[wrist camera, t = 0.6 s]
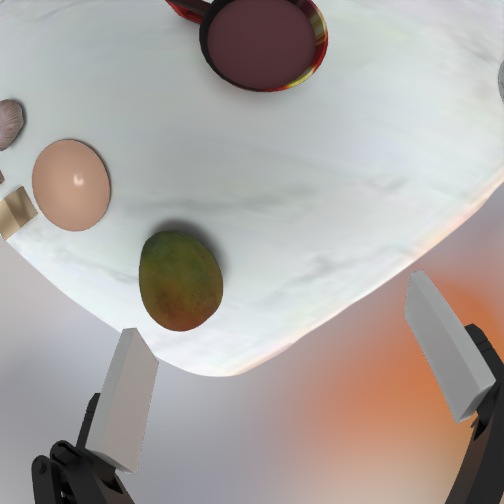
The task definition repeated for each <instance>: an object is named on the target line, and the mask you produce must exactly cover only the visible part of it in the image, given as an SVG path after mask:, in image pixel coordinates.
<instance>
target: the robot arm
mask: <svg viewBox="0 0 504 504" xmlns="http://www.w3.org/2000/svg"><path fill="white" fill-rule="evenodd" d="M404 317H405V319H406V321H407V323H408V324H409V326H410V328H411V330H412V332H413V334H414V335H415V338H416V339H417V341H418V343H419V345H420V347H421V349H422V351H423V353H424V355H425V357H426V359H427V361H428V363H429V365H430V367H431V369H432V371H433V373H434V375H435V377H436V380H437V382H438V384H439V386H440V388H441V390H442V392H443V395H444V397H445V399H446V402H447V404H448V406H449V408H450V411H451V413H452V415H453V418H454V420H455V422H456V424H457V423H459V422H461V421H463V420H465V419H467V418H469V417H471V416H472V415H473V413H474V412H475V411H477V413H478V417H477V418H476V419H475V421H474V422H473V423H472V425H471V428H473V427H474V425H475V427H474V430H473V433H472V437H471V440H470V443H469V446H468V449H467V452H466V454H465V457H464V460H463V463H462V465H461V468H460V471H459V473H458V475H457V478H456V480H455V482H454V485H453V487H452V489H451V491H450V494H449V496H448V498H447V500H446V502H445V504H499V503H500V500H501V498H502V495H503V492H504V364H503V362H502V361H501V359H500V358H499V356H498V355H497V353H496V351H495V350H494V349H493V348H492V345H491V343H490V342H489V341H488V339H487V337H486V336H485V334H484V333H483V331H482V330H481V329H480V328H478V327H477V326H476V325H474V324H470V325H467V326H465V327H463V325H462V324H461V322H460V321H459V319H458V318H457V316H456V315H455V313H454V312H453V310H452V309H451V307H450V306H449V305H448V303H447V302H446V300H445V299H444V298H443V296H442V295H441V294H440V292H439V291H438V289H437V288H436V287H435V285H434V284H433V283H432V281H431V280H430V279H429V278H428V276H427V275H426V273H425V272H424V271H423V270H420V271H417V272H413V273H410V274H409V280H408V289H407V297H406V305H405V312H404ZM158 364H159V362H158V360H157V359H156V358H155V356H154V355H153V353H152V352H151V350H150V349H149V347H148V346H147V344H146V342H145V341H144V339H143V338H142V336H141V335H140V333H139V332H138V330H137V328H128V329H123V331H122V334H121V337H120V339H119V342H118V345H117V347H116V350H115V353H114V356H113V358H112V362H111V364H110V367H109V370H108V373H107V376H106V379H105V382H104V385H103V388H102V391H101V393H95V394H94V396H93V397H92V398H91V400H90V401H89V404H88V407H87V410H86V412H87V413H86V414H85V417H84V421H83V423H82V427H81V430H80V434H79V437H78V440H77V444H76V447H74V446H73V445H71V444H70V443H69V442H67V441H64V440H61V441H58V442H56V443H55V444H54V445H53V446H52V448H51V451H50V459H49V458H47V457H46V456H44V455H39V456H38V457H36V458H35V459H34V461H33V463H32V469H31V470H32V482H33V491H34V499H35V504H135V503H134V502H133V500H132V499H131V497H130V495H129V494H128V492H127V491H126V489H125V487H124V486H123V484H122V482H121V481H120V479H119V477H118V476H117V475H116V473H115V469H118V470H119V471H121V472H123V473H130V474H138V468H139V461H140V456H141V450H142V444H143V438H144V433H145V427H146V422H147V416H148V411H149V406H150V402H151V397H152V392H153V387H154V382H155V377H156V373H157V369H158ZM61 492H62V494H63V497H62V495H61Z"/></svg>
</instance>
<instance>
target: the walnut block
mask: <svg viewBox="0 0 504 504" xmlns="http://www.w3.org/2000/svg"><path fill="white" fill-rule="evenodd" d="M4 180H5V179H4V177H3V175H2V173H1V171H0V184H1V183H2V182H3V181H4Z"/></svg>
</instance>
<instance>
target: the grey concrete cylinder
mask: <svg viewBox="0 0 504 504" xmlns="http://www.w3.org/2000/svg"><path fill="white" fill-rule="evenodd" d="M498 85H499V91H500V95H501V98H502V101H503V103H504V62H503V63H502V65H501V67H500V69H499V75H498Z"/></svg>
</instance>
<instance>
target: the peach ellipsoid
mask: <svg viewBox="0 0 504 504" xmlns="http://www.w3.org/2000/svg"><path fill="white" fill-rule="evenodd" d="M32 188H33V193H34V197H35V200H36V202H37V204H38V206H39V208H40V210H41V211H42V213H43V214H44V215H45V217H46V218H47V219H48V220H49V221H51V222H52V223H53V224H55V225H56V226H58V227H60V228H62V229H65V230H68V231H83V230H86V229H88V228H91V227H92V226H94V225H95V224H96V223H97V222H98V221H99V220H100V219H101V218H102V216H103V215H104V213H105V211H106V209H107V206H108V202H109V197H110V185H109V179H108V175H107V172H106V169H105V167H104V165H103V163H102V162H101V160H100V158H99V157H98V156H97V155H96V153H95V152H94V151H93V150H92V149H90V148H89V147H88V146H86V145H84V144H83V143H80V142H78V141H74V140H61V141H57V142H55V143H53V144H51V145H49V146H48V147H46V148H45V149H44V150H43V151H42V152H41V154H40V155H39V157H38V158H37V160H36V162H35V165H34V169H33V174H32Z"/></svg>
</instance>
